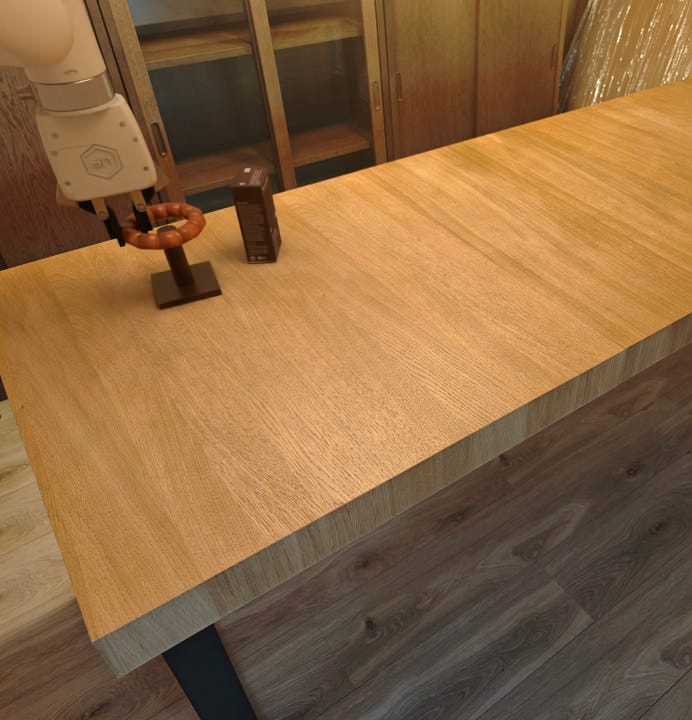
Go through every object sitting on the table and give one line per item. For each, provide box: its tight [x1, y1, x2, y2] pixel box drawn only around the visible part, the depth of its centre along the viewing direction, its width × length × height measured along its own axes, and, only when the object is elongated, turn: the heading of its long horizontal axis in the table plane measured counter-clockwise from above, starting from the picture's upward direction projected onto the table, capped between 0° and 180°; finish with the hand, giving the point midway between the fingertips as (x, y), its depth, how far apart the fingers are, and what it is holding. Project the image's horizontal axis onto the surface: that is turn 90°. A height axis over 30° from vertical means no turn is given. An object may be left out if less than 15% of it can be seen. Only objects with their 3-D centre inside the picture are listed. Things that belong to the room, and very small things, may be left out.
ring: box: [120, 202, 207, 251], centre depth 83 cm, size 10×10×2 cm
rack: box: [150, 224, 223, 311], centre depth 86 cm, size 8×8×9 cm
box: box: [230, 167, 283, 264], centre depth 92 cm, size 6×4×12 cm
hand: (134, 238), depth 82 cm, fingers closed on ring, 2 cm apart
